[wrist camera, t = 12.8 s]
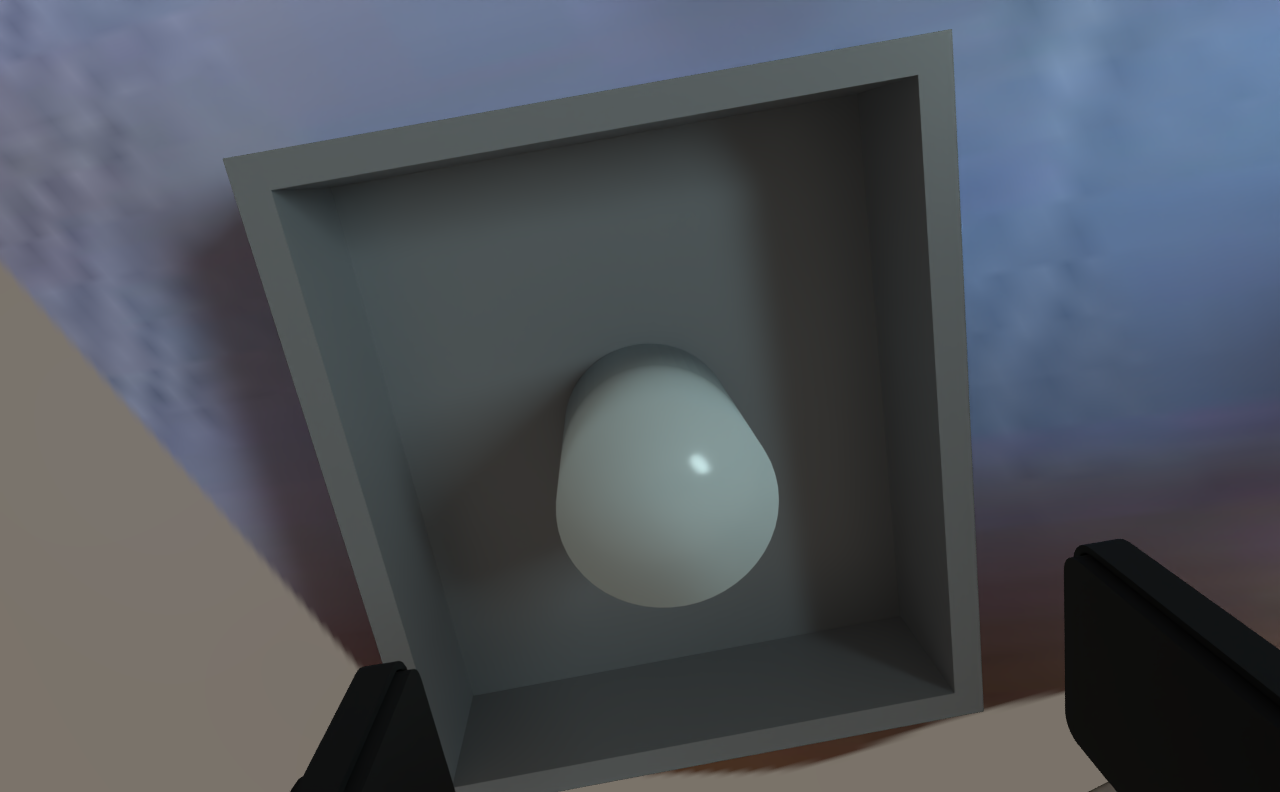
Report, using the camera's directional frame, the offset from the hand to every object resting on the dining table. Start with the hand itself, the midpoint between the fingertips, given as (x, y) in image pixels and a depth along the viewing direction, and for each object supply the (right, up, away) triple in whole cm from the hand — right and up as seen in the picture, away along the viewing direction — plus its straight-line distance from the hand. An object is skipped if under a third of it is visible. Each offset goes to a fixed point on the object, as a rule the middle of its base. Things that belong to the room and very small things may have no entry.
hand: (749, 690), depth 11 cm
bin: (-1, +4, +12) cm, 13 cm away
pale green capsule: (-1, +3, +12) cm, 12 cm away
